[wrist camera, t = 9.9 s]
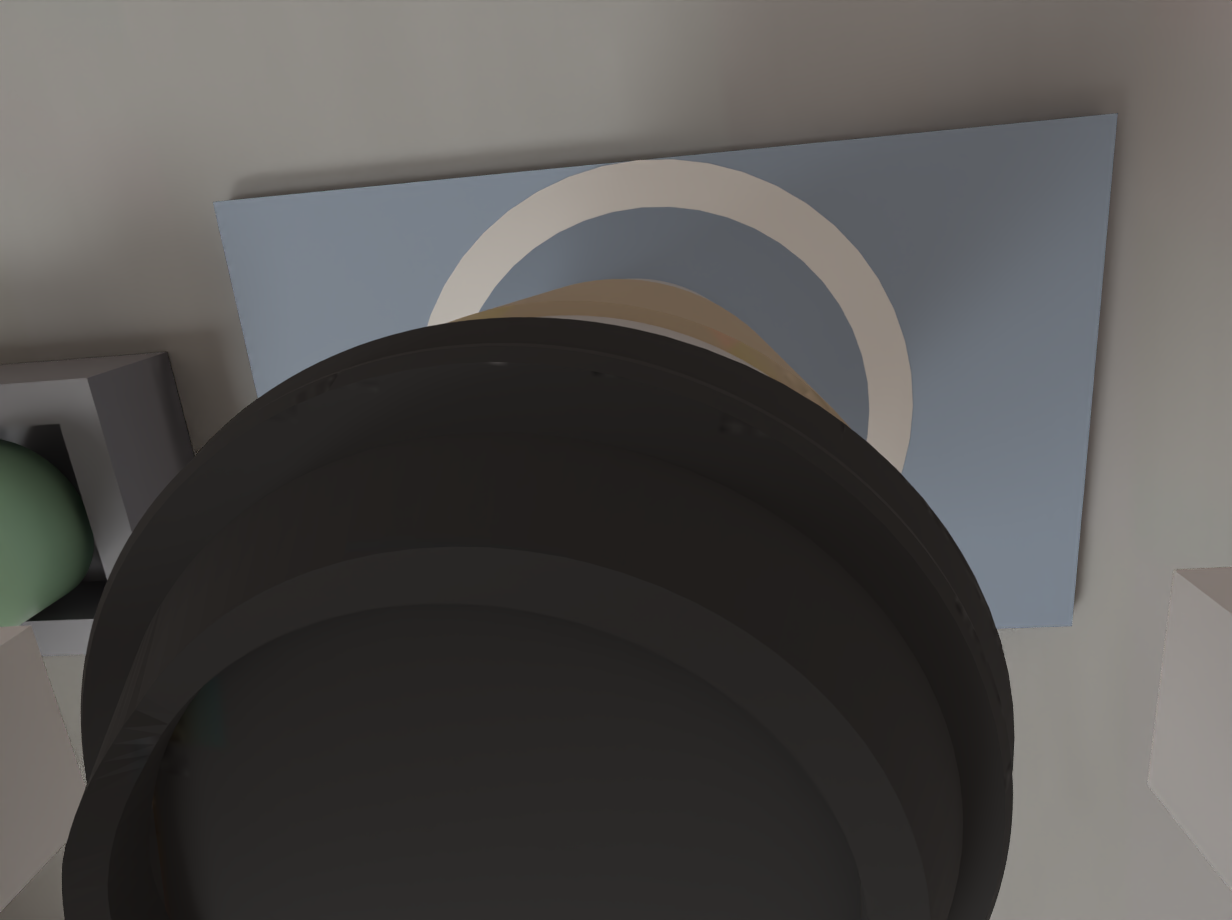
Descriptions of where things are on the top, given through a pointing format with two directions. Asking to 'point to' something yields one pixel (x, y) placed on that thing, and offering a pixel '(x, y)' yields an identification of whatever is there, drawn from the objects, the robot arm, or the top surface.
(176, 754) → the coffee cup
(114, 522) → the button housing
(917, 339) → the slate board
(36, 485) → the button
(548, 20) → the top surface
